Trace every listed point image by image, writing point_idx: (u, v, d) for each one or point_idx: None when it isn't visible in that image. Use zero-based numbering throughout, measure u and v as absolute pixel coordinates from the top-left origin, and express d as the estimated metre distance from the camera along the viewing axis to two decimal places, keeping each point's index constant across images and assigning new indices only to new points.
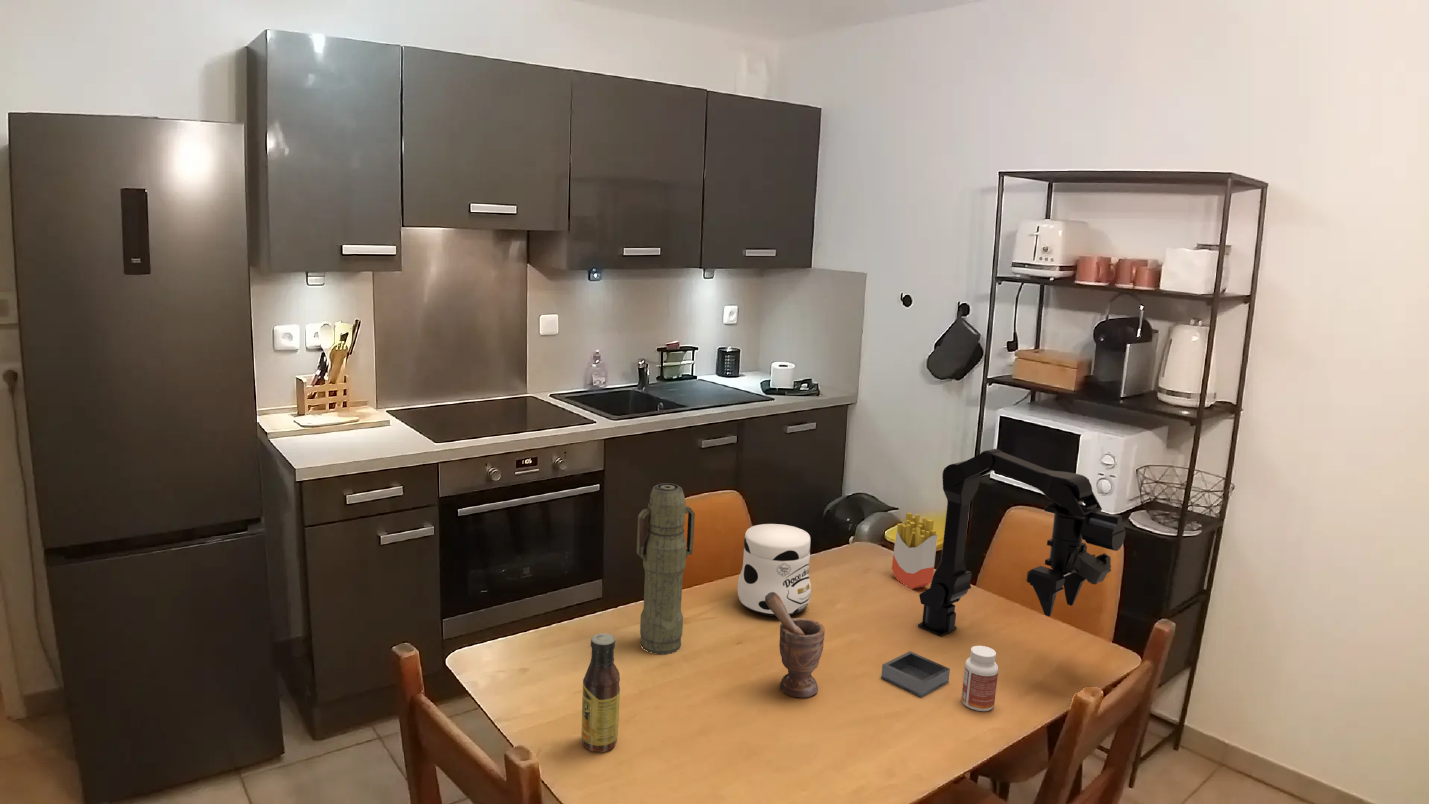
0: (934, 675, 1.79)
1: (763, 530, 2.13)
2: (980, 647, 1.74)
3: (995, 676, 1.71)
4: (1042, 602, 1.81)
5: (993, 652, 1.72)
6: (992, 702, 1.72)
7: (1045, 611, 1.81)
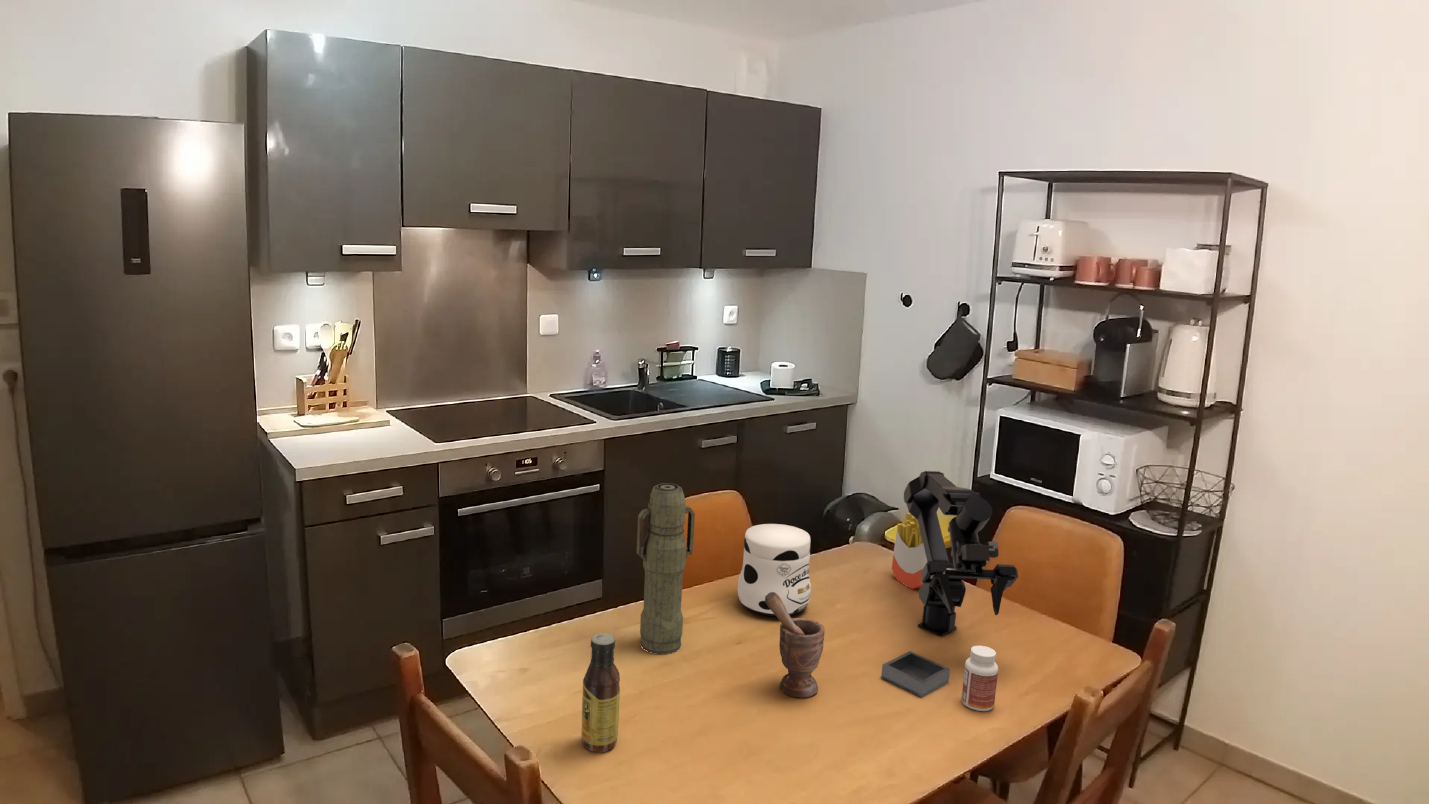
0: (934, 675, 1.79)
1: (763, 529, 2.13)
2: (980, 647, 1.74)
3: (995, 676, 1.71)
4: (944, 601, 1.85)
5: (993, 652, 1.72)
6: (992, 702, 1.72)
7: (948, 608, 1.83)
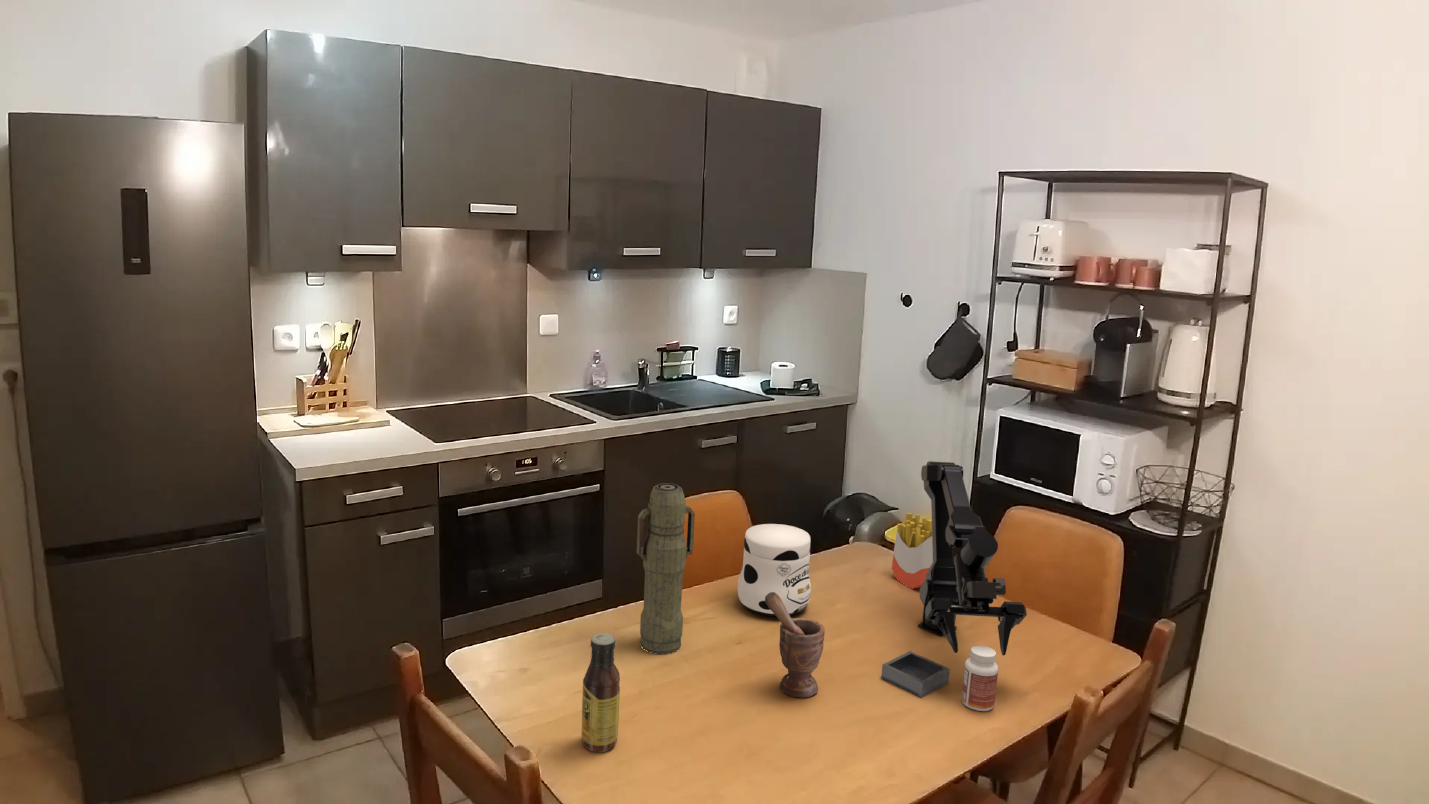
0: (934, 675, 1.79)
1: (763, 529, 2.13)
2: (980, 647, 1.74)
3: (995, 676, 1.71)
4: (948, 640, 1.77)
5: (993, 652, 1.72)
6: (992, 702, 1.72)
7: (953, 647, 1.75)
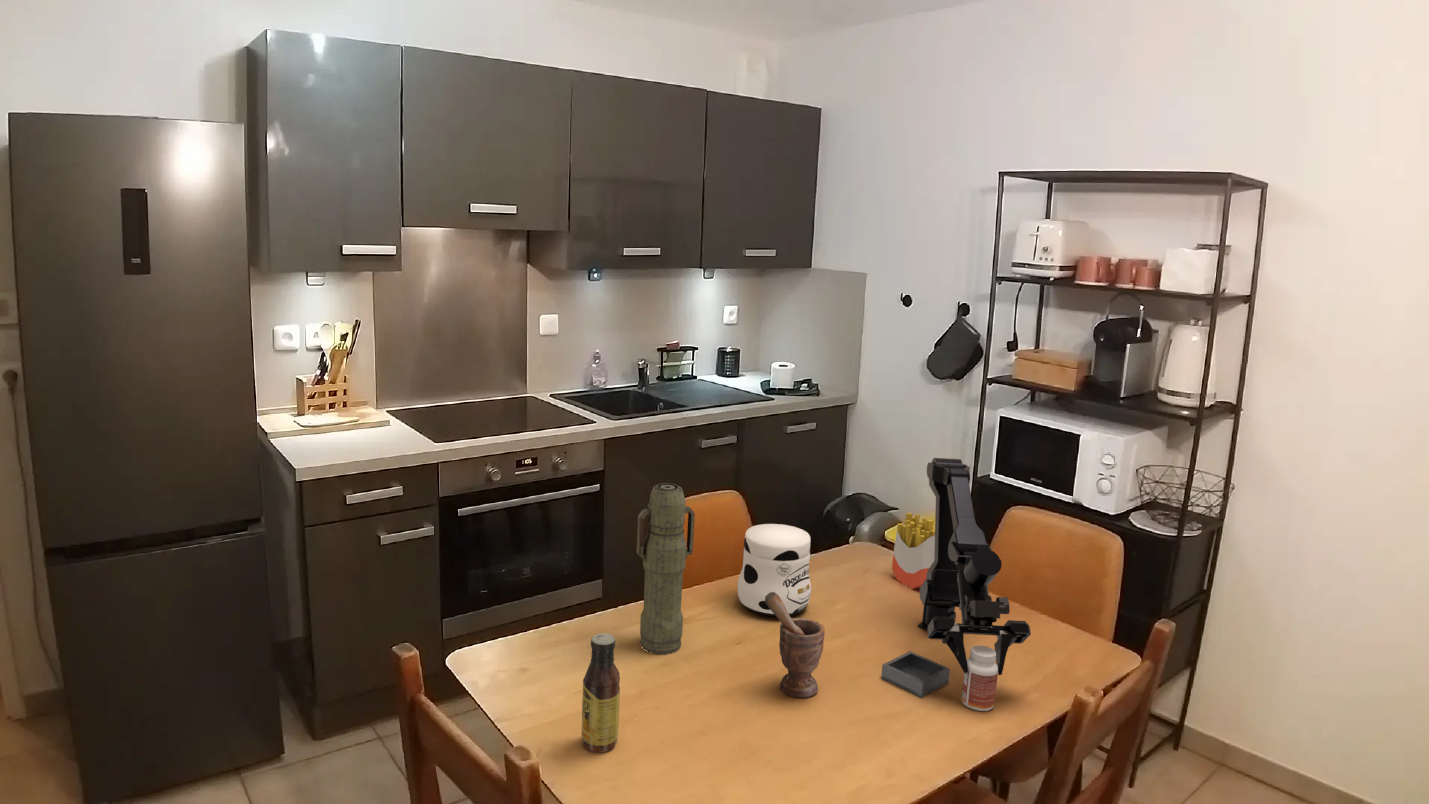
0: (934, 675, 1.79)
1: (763, 529, 2.13)
2: (980, 647, 1.74)
3: (995, 675, 1.71)
4: (958, 659, 1.74)
5: (993, 652, 1.72)
6: (992, 702, 1.72)
7: (962, 667, 1.73)
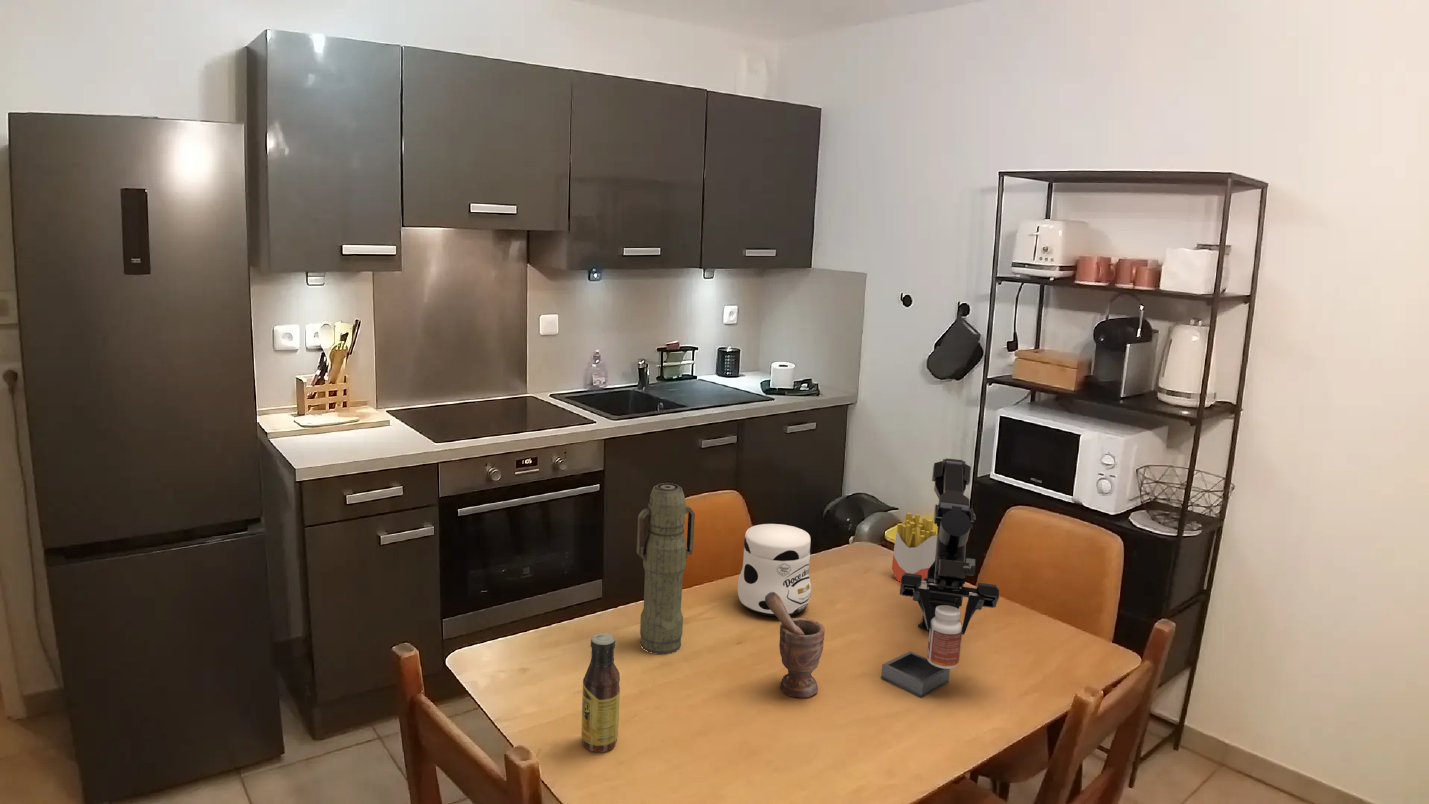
0: (934, 675, 1.79)
1: (763, 529, 2.13)
2: (946, 606, 1.77)
3: (957, 634, 1.74)
4: (924, 616, 1.78)
5: (957, 612, 1.75)
6: (954, 661, 1.75)
7: (926, 624, 1.77)
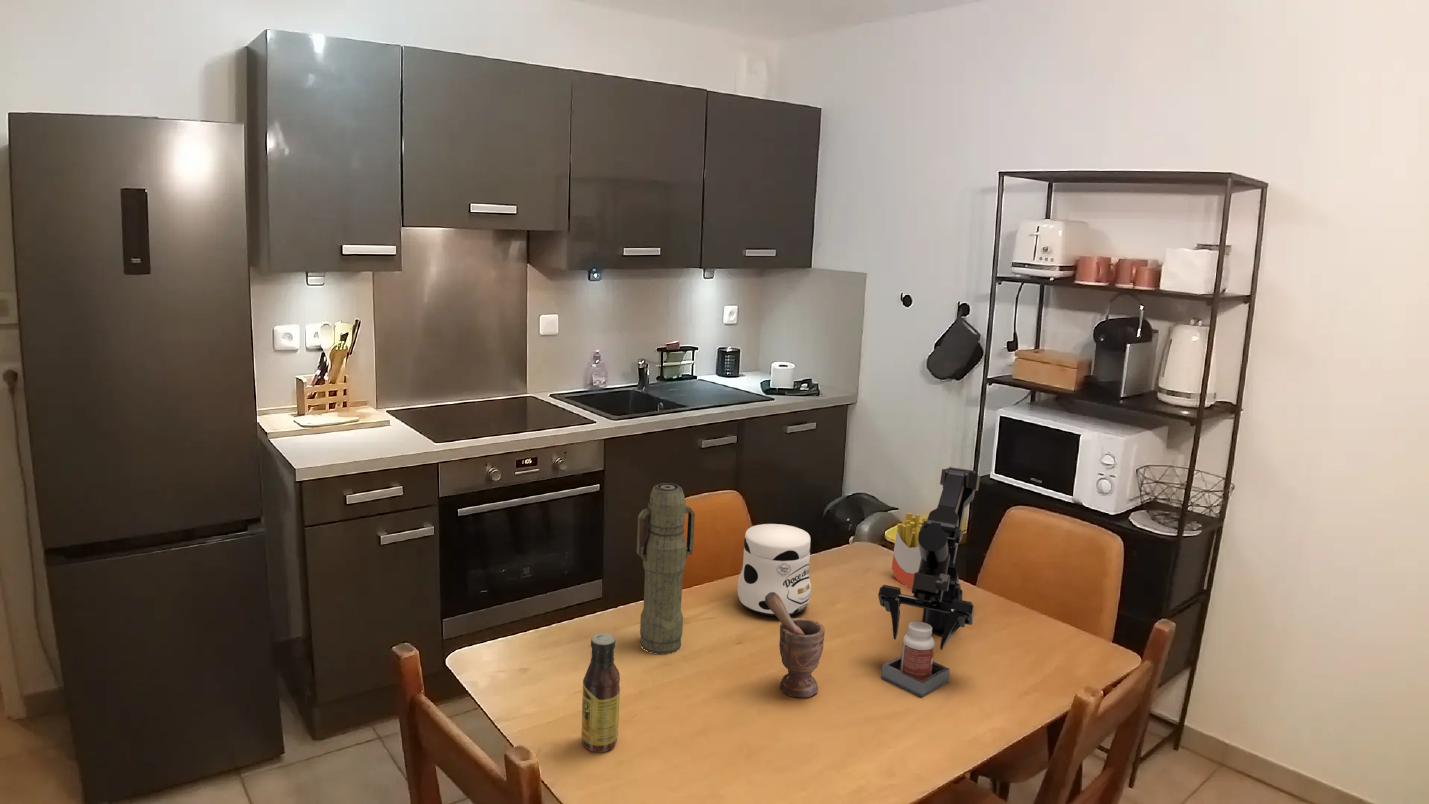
0: (934, 675, 1.79)
1: (763, 529, 2.13)
2: (920, 623, 1.82)
3: (927, 651, 1.78)
4: None
5: (929, 628, 1.79)
6: (924, 676, 1.79)
7: None
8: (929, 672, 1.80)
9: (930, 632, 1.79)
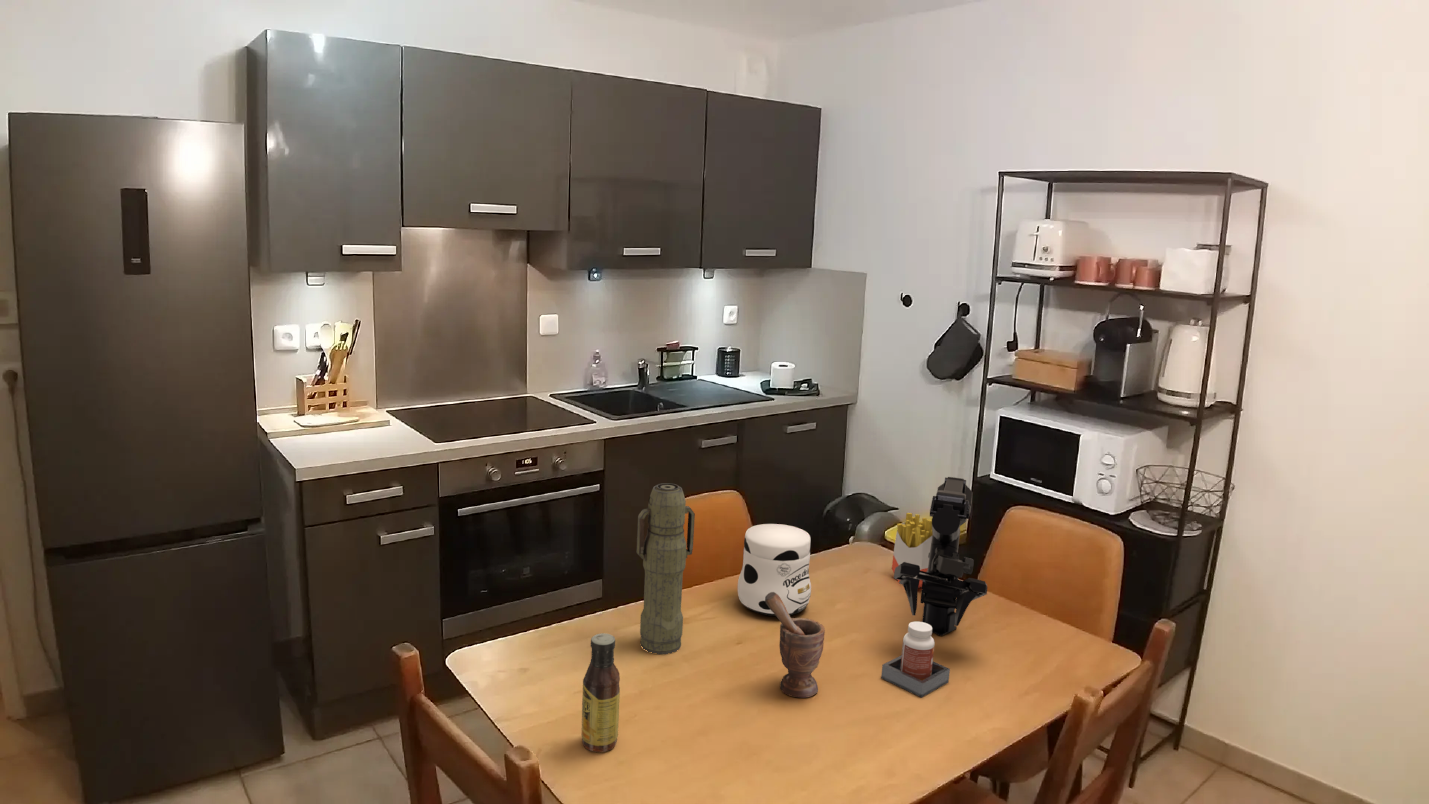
0: (934, 675, 1.79)
1: (763, 529, 2.13)
2: (920, 623, 1.82)
3: (927, 651, 1.78)
4: (909, 602, 1.91)
5: (929, 628, 1.79)
6: (924, 676, 1.79)
7: (911, 610, 1.89)
8: (929, 672, 1.80)
9: (930, 632, 1.79)
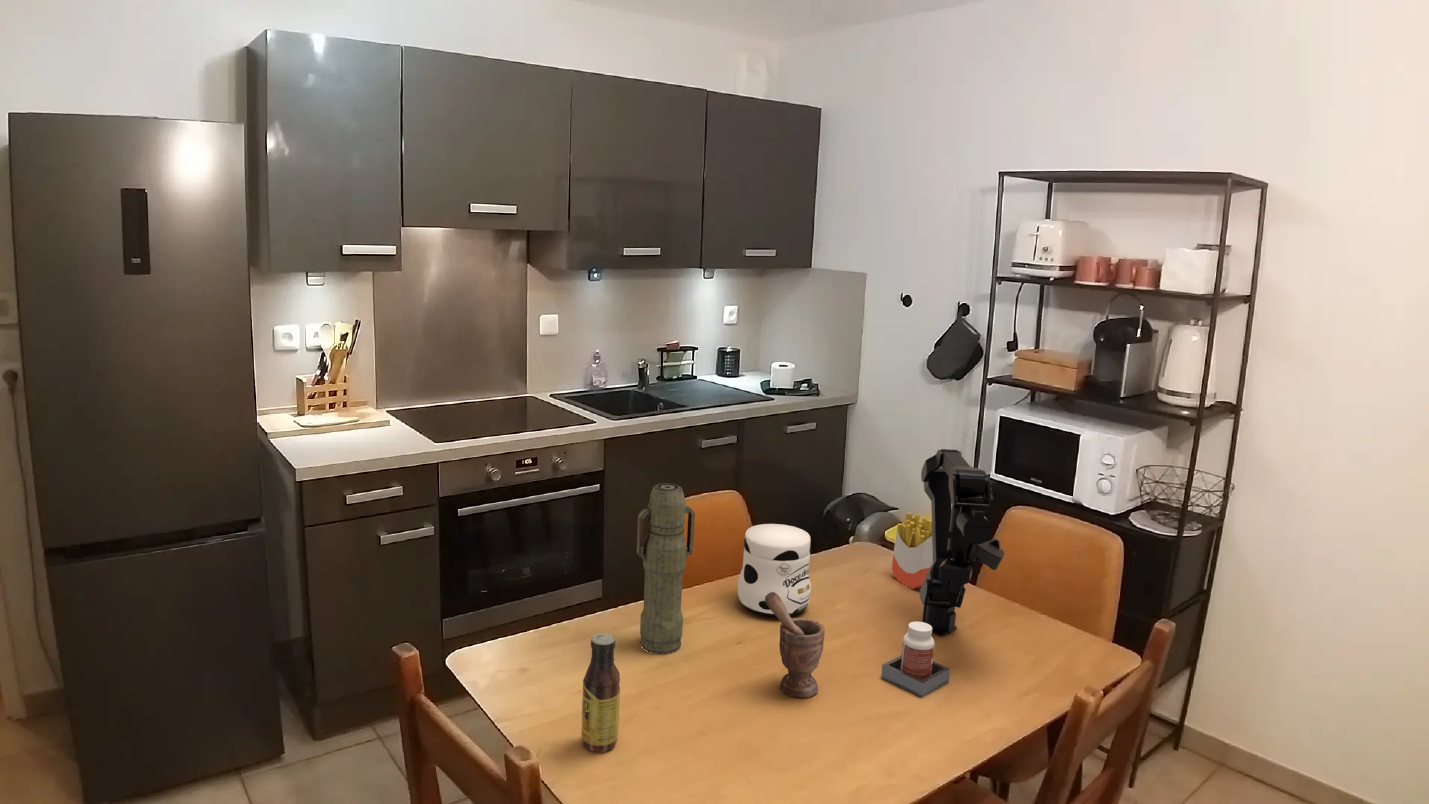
0: (934, 675, 1.79)
1: (763, 529, 2.13)
2: (920, 623, 1.82)
3: (927, 651, 1.78)
4: (948, 594, 1.87)
5: (929, 628, 1.79)
6: (924, 676, 1.79)
7: (951, 601, 1.88)
8: (929, 672, 1.80)
9: (930, 632, 1.79)
